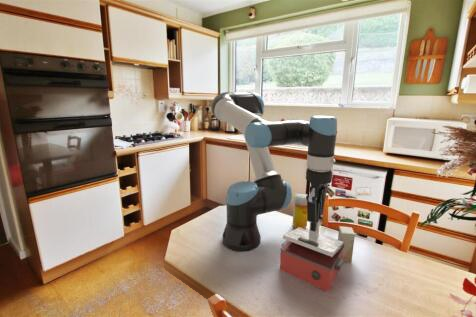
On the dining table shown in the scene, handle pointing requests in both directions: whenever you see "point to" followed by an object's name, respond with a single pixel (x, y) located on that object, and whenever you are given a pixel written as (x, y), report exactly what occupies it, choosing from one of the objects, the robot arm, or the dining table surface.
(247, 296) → the dining table surface
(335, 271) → the red hinged chest
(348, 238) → the box
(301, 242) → the lid
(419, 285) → the dining table surface
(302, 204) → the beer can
